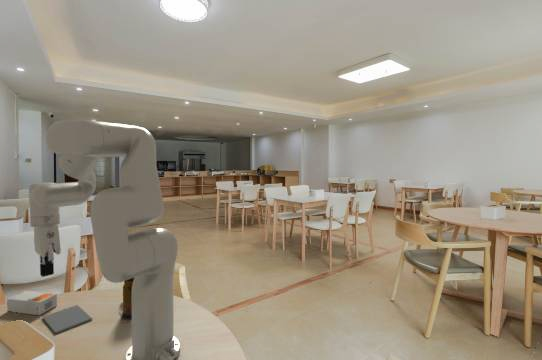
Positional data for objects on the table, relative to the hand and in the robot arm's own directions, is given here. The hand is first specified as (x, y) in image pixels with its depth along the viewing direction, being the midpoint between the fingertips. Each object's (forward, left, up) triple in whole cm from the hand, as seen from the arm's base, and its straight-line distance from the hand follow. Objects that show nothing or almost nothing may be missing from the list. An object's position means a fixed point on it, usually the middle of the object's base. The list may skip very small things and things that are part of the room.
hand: (47, 274), depth 93 cm
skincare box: (-6, +1, -7) cm, 10 cm away
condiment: (-28, -15, -10) cm, 33 cm away
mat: (-16, -1, -10) cm, 19 cm away
